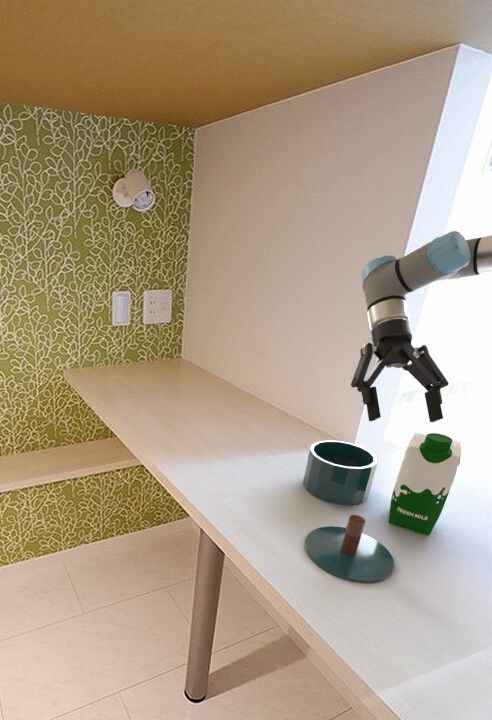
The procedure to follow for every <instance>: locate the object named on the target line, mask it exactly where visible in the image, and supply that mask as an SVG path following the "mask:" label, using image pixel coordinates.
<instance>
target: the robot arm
mask: <svg viewBox="0 0 492 720" xmlns="http://www.w3.org/2000/svg"><path fill="white" fill-rule="evenodd" d="M489 274H492V234H491V235H487V236H482V237H475V238H470V239H466V238H465V236H464V235H462V234H461V233H460V232H459V231H456V230H452V231H449V232H447V233H445V234H443V235H441V236H438V237H435V238H434V239H433V240H431V241H429V242H427V243H426V244H424V245H422V246H420V247H419V248H417V249H415V250H413V251H411V252H410V253H408V254H406V255H404V256H402V257H400V258H399V259H398V258H397V256H394V255H390V254H389V255H388V254H387V255H382V256H381V257H375V258H373V259H372V260H370V261H369V262H367V263H366V265H364V267H363V269H362V271H361V277H362V278H361V279H362V291H363V293H364V294H363V295H364V299H365V305H366V311H367V318H368V319H367V320H368V324H369V329H370V338H371V342H367V343H366V344H364V346H362V347H361V348H360V358H359V360H358V363H357V366H356V369H355V370H354V371H355V372H354V375H353V377H352V380H351V383H350V387H351V388H354V389H355V388H356V390H357V391H358V392H359V393H361V398H362V403H363V405H366V410H367V416H368V422H374V421H376V420H378V419H380V418H382V415H381V410H380V403H379V398H378V391H377V386H373V384H374V383H375V381H376V380H377V379H378V377H379V376H380V375H381V373H382V371H383V370H384V369H385V367H386V368H389V369H390V368H396V369H402V370H404V371H406V372H408V373H409V374H410V375H411V376H412V377H413V378H414V379H415V380H416V381H417V382H418V383H419V384H420V385H421V386H422V387H423V388H424V389H425V390H426V392H424V397H425V398H424V399H425V403H426V409H427V413H428V420H429V423H435V422H437V421H440V420H443V419H444V415H443V409H442V406H441V405H442V404H443V398H442V392H441V390H442V389H444V388H446V387H447V386H449V385H450V384H449V381H448V380H447V378H446V377H445V375H444V374H443V372H442V370H440V368H439V366H438V365H437V364H436V362H435V361H434V359H433V358H432V356H431V355H430V352H429V348H428V347H427V345H426V344H422V345H421V346H418V347H414V346H413V344H412V339H413V331H412V325H411V322H410V313H409V311H408V305H407V304H408V303H407V300H406V295H408V294H410V293H412V292H415V291H416V290H419V289H421V288H423V287H426V286H428V285H429V284H432V283H435V282H436V281H437V282H438V281H444V280H457V279H461V278H468V277H475V276H480V275H481V276H482V275H489ZM373 355H375V357H376V358H377V360H376V362H375V364H373V367H372V369H371V370H370V371H369V372H368V369H369V366H370V364H371V361H372V359H373ZM367 372H368V374H367ZM366 375H367V376H366Z"/></svg>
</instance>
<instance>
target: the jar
mask: <svg viewBox="0 0 492 720" xmlns="http://www.w3.org/2000/svg"><path fill="white" fill-rule="evenodd" d="M377 466H378V457H377V456H376V455H375V454H374V452H372V451H371V450H369V449H367V448H366V447H364V446H361V445H358V444H355V443H352V442H347V441H341V440H331V439H329V440H327V439H326V440H320V441H316V442H314V443H312V444H311V445H310V447H309V452H308V457H307V462H306V467H305V472H304V477H303V481H302V486H303V487H304V489H305V491H306V492H307V493H308V494H310V495H311V496H313V497H314V498H316V499H319V500H320V501H323V502H326V503H329V504H333V505H338V506H355V505H360V504H363V503H365V502H366V501H367V500H368V498H369V494H370V491H371V487H372V484H373V481H374V476H375V472H376V469H377Z"/></svg>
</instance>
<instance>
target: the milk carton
mask: <svg viewBox="0 0 492 720" xmlns="http://www.w3.org/2000/svg"><path fill="white" fill-rule="evenodd" d="M461 456H462V446H461V441H457V440H453V439H452V437H450V436H448V435H445V434H441V433H437V432H431V433H427V434H425V433H419V432H414V434H413V436H412V438H411V439H410V441H409V443H408V444H407V446H406V449H405V451H404V456H403V459H402V461H401V465H400V467H399V468H400V469H399V471H398V474H397V477H396V481H395V484H394V487H393V489H392V490H393V491H392V493H391V499H390V505H389V516H388V524H389V525H392V526H394V527H397V528H401V529H404V530H407V531H411V532H414V533H416V534H420V535H424V536H426V537H429V536H430V534H431V533H432V531H433V529H434V527H435V526H436V523H437V522H438V520H439V518H440V516H441V514H442V512H443V510H444V507H445V505H446V501H447V499H448V496H449V493H450V491H451V488H452V486H453V483H454V480H455V477H456V474H457V471H458V468H459V467H460V464H461Z"/></svg>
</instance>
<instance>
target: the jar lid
mask: <svg viewBox="0 0 492 720" xmlns="http://www.w3.org/2000/svg"><path fill="white" fill-rule="evenodd" d="M365 524H366V519H365V518H364V517H363V516H361V515H357V514H351V515H349V517H348V519H347V523H346V527H343V526H333V525H332V526H331V525H330V526H320V527H317V528H315V529H313V530H311V531H310V532H309V533H308V534H307V535H306V537H305V540H304V549H305V552H306V553H307V556H308V557H309V558H310V559H311V560H312V562H313V563H314V564H315V565H317V566H318V567H319V568H321V569H322V570H324V571H325V572H326V573H328V574H331V575H333V576H334V577H337V578H340V579H342V580H346V581H350V582H353V583H361V584H373V583H379V582H382V581H385V580H386V579H388V578H389V577H390V576H391V575H392V574H393V572H394V569H395V560H394V556H393V555H392V554H391V552H390V551H389V549H387V548H386V547H385V546H384V544H382V543H381V542H379V541H378V540H377V539H375V538H374V537H371V536H370V535H368V534H366V533H364V532H363V531H364V528H365Z"/></svg>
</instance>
